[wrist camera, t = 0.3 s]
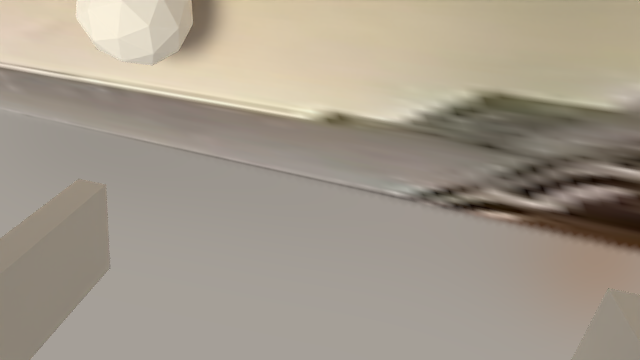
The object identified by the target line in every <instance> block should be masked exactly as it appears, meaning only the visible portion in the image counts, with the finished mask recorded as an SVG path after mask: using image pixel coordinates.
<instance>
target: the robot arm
mask: <svg viewBox="0 0 640 360" xmlns="http://www.w3.org/2000/svg"><path fill="white" fill-rule="evenodd" d="M109 254H110V253H109V234H108V213H107V192H106V184H101V183H96V182H92V181H86V180H82V179H78V180H76V181H75V182H74V183H73V184H71V185H70V186H69V187H68V188H66V189H65V190H63V191H62V192H61V193H59V194H58V195H57V196H55V197H54V198H53V199H51V200H50V201H49V202H48V203H47V204H45V205H43V206H42V207H41V208H40V209H38V210H37V211H36V212H34V213H33V214H32V215H30V216H29V217H28V218H26V219H25V220H24V221H22V222H21V223H20V224H19V225H17V226H16V227H14V228H13V229H12V230H11V231H9V232H8V233H7V234H5V235H4V236H3V237H1V238H0V360H30V359H31V358H32V357H33V356H34V355H35V353H36V352H37V351H38V350H39V349H40V348H41V347H42V345H43V344H44V343H45V342H46V341H47V340H48V339H49V337H50V336H51V335H52V334H53V333H54V332H55V331H56V329H57V328H58V327H59V326H60V325H61V324H62V323H63V321H64V320H65V319H66V318H67V317H68V315H69V314H70V313H71V312H72V311H73V310H74V309H75V308H76V306H77V305H78V304H79V303H80V302H81V301H82V300H83V298H84V297H85V296H86V295H87V294H88V293H89V292H90V290H91V289H92V288H93V287H94V286H95V285H96V284H97V282H98V281H99V280H100V279H101V278H102V277H103V276H104V274H105V273H106V272H107V271H108V270H109V269H110V255H109ZM571 360H640V295H639V294H634V293H629V292H624V291H619V290H614V289H609V288H608V290H607V292H606V294H605V296H604V297H603V299H602V301H601V303H600V305H599V307H598V309H597V311H596V313H595V315H594V317H593V319H592V321H591V323H590V325H589V327H588V328H587V330H586V332H585V334H584V336H583V338H582V340H581V342H580V344H579V346H578V348H577V350H576V352H575V354H574V356H573V358H572V359H571Z"/></svg>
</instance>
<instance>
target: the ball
mask: <svg viewBox="0 0 640 360" xmlns="http://www.w3.org/2000/svg"><path fill="white" fill-rule="evenodd" d="M76 19H77V20H78V22H79V23H80V25H81V26H82V28H83V29H84V31H85V32H86V34H87V35H88V37H89V38H90V40H91V41H92V42H93V44H94V45H95V47H96V48H97V49H98V50H100V51H102V52H104V53H106V54H108V55H110V56H112V57H114V58H116V59H118V60H120V61H122V62H129V63H137V64H145V65H154V64H156V63H158V62H159V61H161V60H163V59H165V58H167V57H169V56H170V55H172V54H174V53H176V52H178V51H179V50H180V48H181V46H182V44H183V42H184V40H185V38H186V36H187V34H188V32H189V31H190V29H191V27H192V25H193V14H192V0H77V2H76Z"/></svg>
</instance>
